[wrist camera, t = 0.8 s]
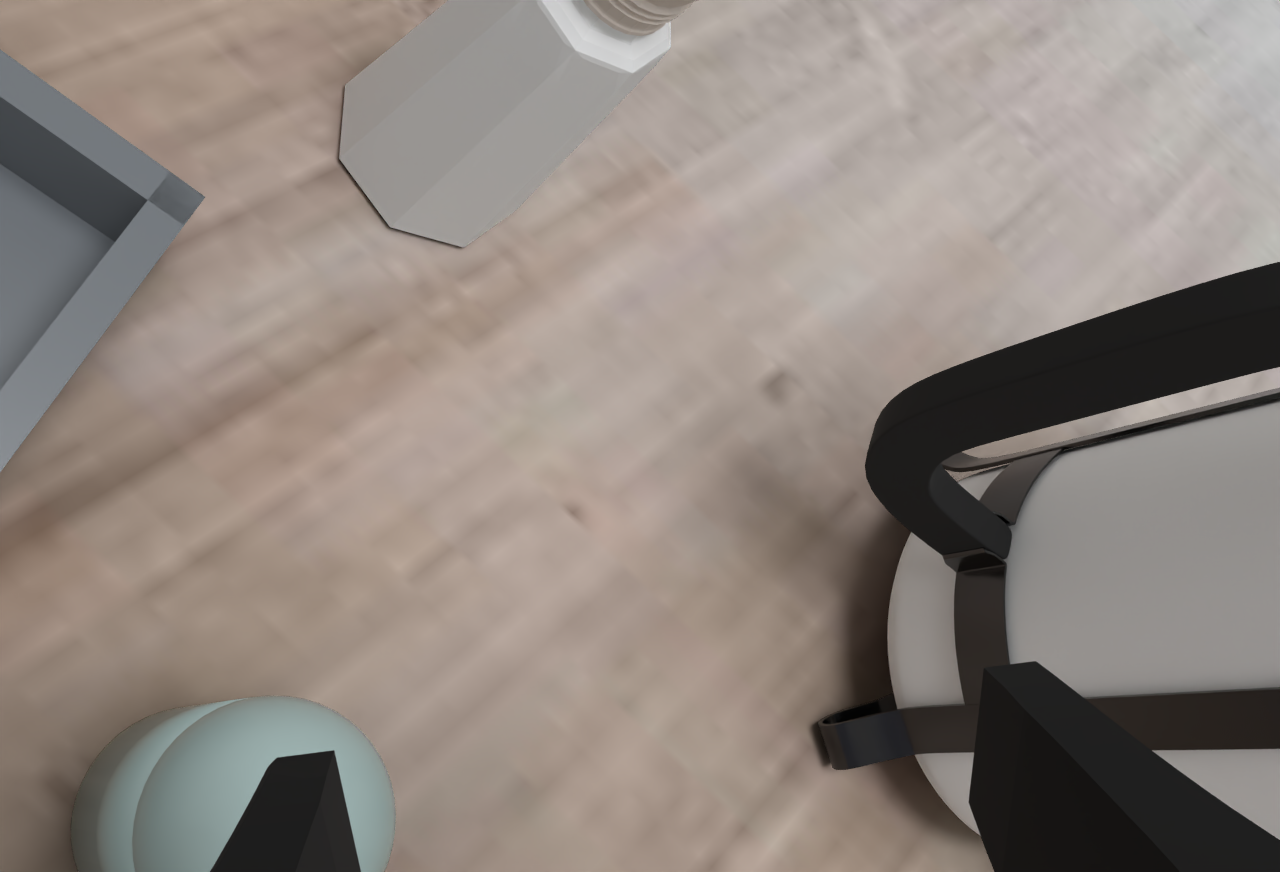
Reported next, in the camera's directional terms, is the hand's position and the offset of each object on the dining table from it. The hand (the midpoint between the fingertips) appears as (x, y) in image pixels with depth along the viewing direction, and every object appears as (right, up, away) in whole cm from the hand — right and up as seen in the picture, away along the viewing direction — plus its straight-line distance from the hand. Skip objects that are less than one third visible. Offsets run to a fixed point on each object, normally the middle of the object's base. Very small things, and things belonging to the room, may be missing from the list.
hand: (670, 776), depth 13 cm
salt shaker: (-6, +11, +19) cm, 23 cm away
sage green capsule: (-10, -4, +11) cm, 16 cm away
